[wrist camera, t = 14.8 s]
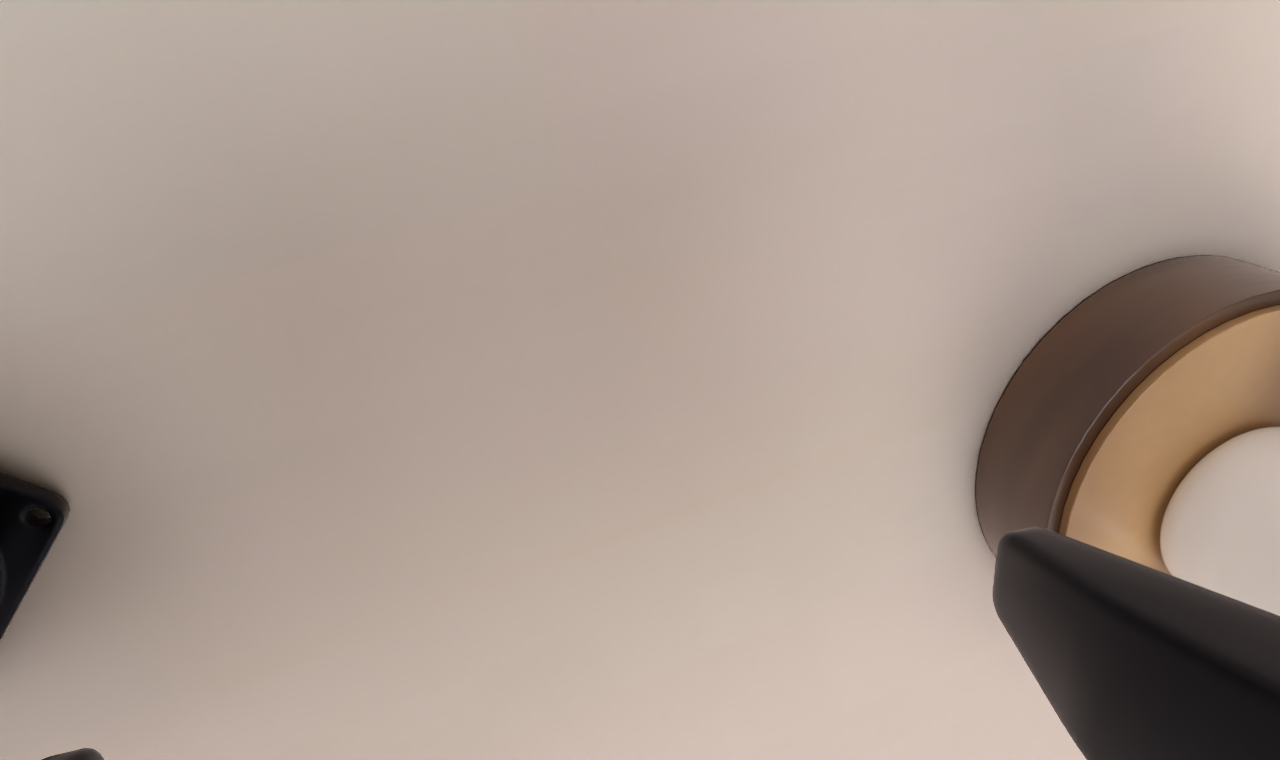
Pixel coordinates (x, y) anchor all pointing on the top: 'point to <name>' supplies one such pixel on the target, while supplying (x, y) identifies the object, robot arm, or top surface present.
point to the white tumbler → (1229, 521)
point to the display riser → (1132, 403)
